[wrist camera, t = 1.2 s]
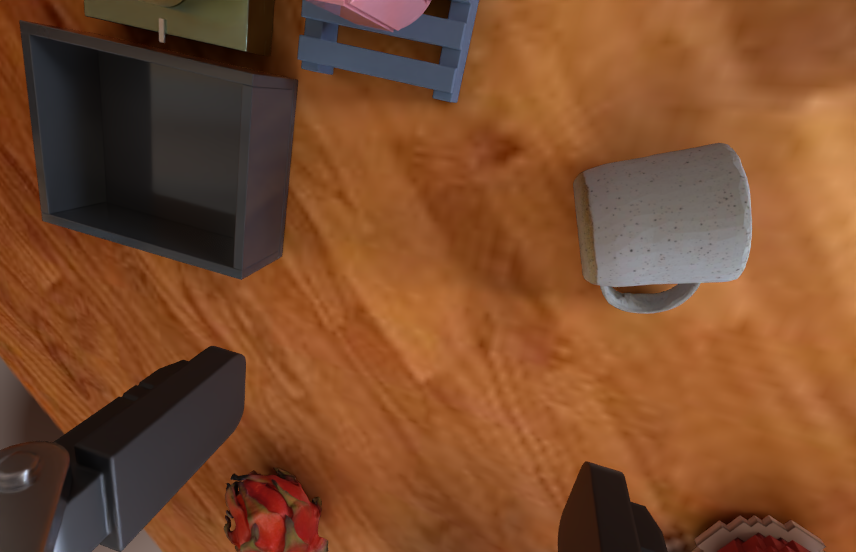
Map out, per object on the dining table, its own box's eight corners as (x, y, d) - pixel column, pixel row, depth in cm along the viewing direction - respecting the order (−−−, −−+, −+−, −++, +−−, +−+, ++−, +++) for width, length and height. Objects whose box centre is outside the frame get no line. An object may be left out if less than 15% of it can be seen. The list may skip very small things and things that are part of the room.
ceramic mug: (565, 163, 30) (574, 182, 23) (705, 136, 28) (762, 148, 21) (583, 310, 33) (596, 366, 26) (711, 297, 31) (761, 354, 24)
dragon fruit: (332, 534, 49) (274, 437, 48) (361, 554, 42) (293, 441, 41) (258, 599, 44) (194, 493, 44) (277, 635, 37) (199, 508, 37)
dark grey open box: (96, 33, 34) (18, 19, 29) (298, 79, 32) (253, 73, 27) (106, 206, 39) (42, 221, 34) (282, 256, 37) (241, 280, 32)
